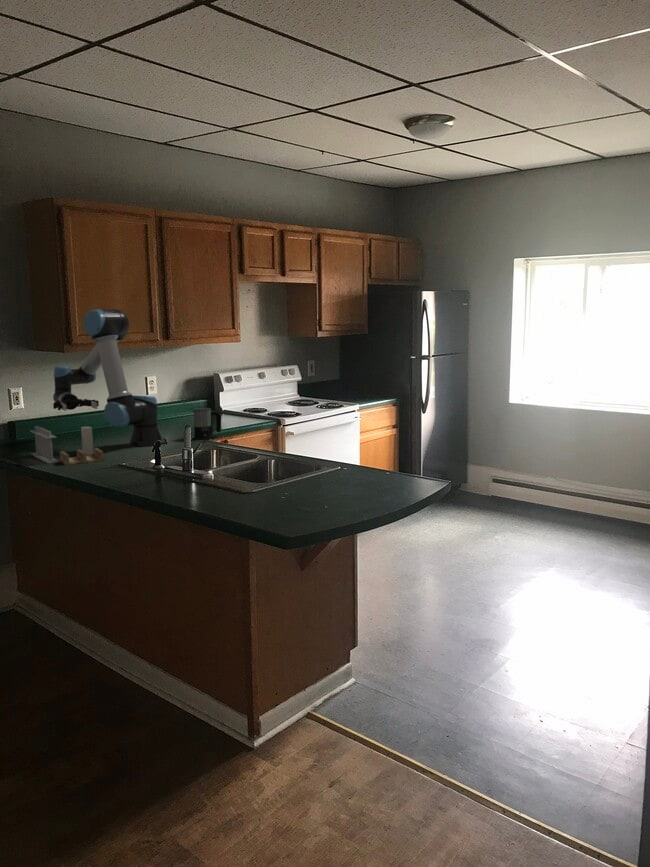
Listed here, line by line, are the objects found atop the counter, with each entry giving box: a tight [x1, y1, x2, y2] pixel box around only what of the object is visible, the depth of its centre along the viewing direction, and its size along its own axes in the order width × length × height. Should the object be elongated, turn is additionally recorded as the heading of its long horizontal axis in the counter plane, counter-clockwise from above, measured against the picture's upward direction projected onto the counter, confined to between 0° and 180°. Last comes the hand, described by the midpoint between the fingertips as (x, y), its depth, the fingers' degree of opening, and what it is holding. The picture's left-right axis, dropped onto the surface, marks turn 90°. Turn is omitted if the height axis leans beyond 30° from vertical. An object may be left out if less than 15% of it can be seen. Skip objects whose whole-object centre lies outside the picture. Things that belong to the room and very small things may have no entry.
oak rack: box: [59, 447, 105, 466], centre depth 304 cm, size 16×10×4 cm, turn 122°
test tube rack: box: [29, 425, 60, 465], centre depth 309 cm, size 25×4×13 cm, turn 37°
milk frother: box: [192, 407, 222, 440], centre depth 362 cm, size 14×16×15 cm
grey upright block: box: [80, 426, 94, 456], centre depth 318 cm, size 4×5×12 cm
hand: (81, 406), depth 323 cm, fingers open, 13 cm apart
